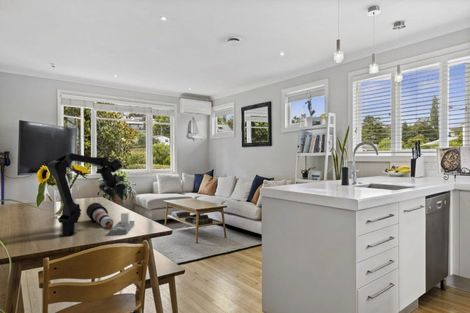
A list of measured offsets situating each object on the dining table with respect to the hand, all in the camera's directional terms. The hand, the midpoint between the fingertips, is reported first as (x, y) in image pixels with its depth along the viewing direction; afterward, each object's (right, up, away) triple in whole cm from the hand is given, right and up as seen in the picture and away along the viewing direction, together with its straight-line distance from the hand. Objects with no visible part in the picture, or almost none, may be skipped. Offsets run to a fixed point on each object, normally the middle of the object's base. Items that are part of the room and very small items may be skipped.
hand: (117, 198), depth 184 cm
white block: (+10, -14, -15) cm, 23 cm away
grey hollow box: (+11, -15, -21) cm, 28 cm away
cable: (-7, -15, -5) cm, 17 cm away
